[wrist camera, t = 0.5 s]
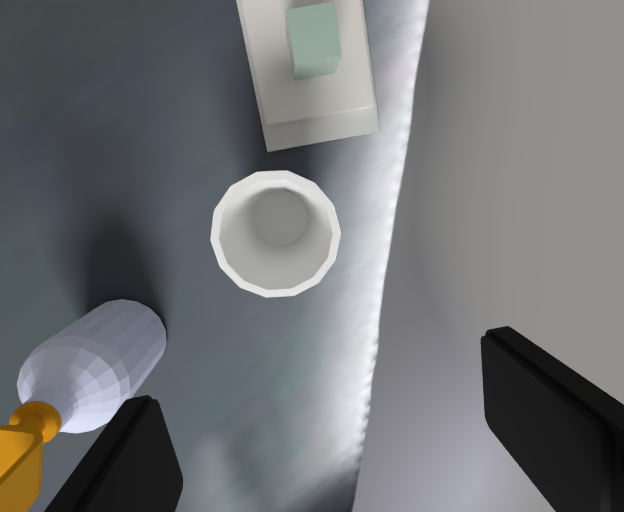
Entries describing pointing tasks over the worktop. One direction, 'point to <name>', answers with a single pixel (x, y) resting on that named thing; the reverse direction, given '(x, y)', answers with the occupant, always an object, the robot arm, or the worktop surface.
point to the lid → (308, 57)
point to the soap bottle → (75, 388)
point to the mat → (317, 126)
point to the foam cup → (275, 233)
